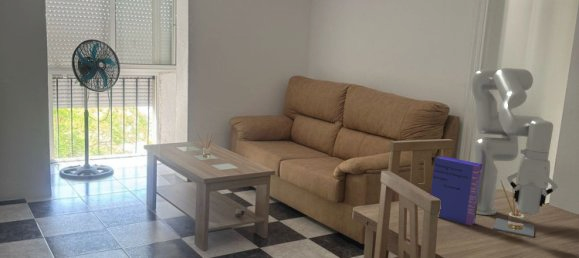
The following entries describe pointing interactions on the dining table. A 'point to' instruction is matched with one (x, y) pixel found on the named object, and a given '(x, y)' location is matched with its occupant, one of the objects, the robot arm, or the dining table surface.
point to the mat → (502, 226)
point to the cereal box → (457, 188)
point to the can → (529, 199)
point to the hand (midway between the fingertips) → (528, 202)
